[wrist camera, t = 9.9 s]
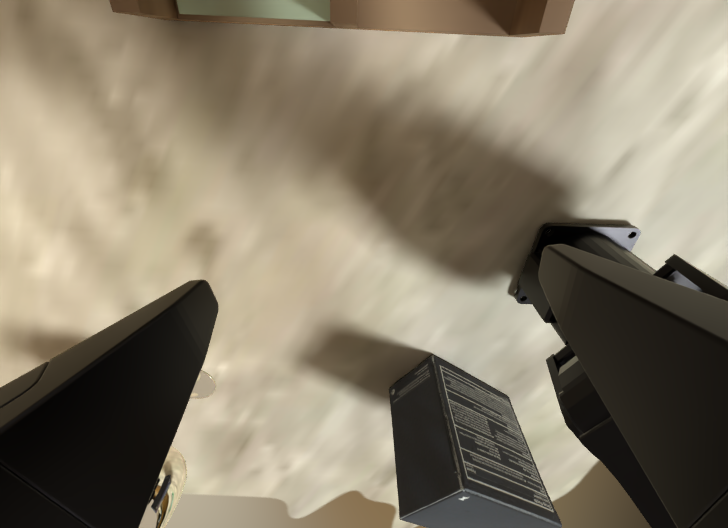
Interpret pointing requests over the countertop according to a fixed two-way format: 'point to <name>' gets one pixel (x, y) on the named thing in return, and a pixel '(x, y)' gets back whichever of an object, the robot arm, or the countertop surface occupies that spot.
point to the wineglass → (173, 471)
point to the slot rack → (371, 14)
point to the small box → (463, 454)
